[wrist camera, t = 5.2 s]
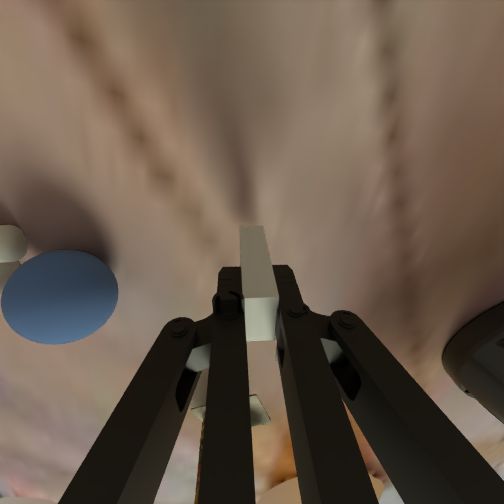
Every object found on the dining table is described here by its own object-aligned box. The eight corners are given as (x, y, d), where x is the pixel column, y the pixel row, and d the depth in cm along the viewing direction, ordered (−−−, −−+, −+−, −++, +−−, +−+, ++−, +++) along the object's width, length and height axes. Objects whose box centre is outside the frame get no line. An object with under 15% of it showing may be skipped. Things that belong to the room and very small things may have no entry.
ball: (4, 235, 16) (84, 229, 14) (81, 271, 21) (144, 269, 20) (-53, 335, 13) (39, 338, 12) (52, 347, 18) (123, 350, 17)
